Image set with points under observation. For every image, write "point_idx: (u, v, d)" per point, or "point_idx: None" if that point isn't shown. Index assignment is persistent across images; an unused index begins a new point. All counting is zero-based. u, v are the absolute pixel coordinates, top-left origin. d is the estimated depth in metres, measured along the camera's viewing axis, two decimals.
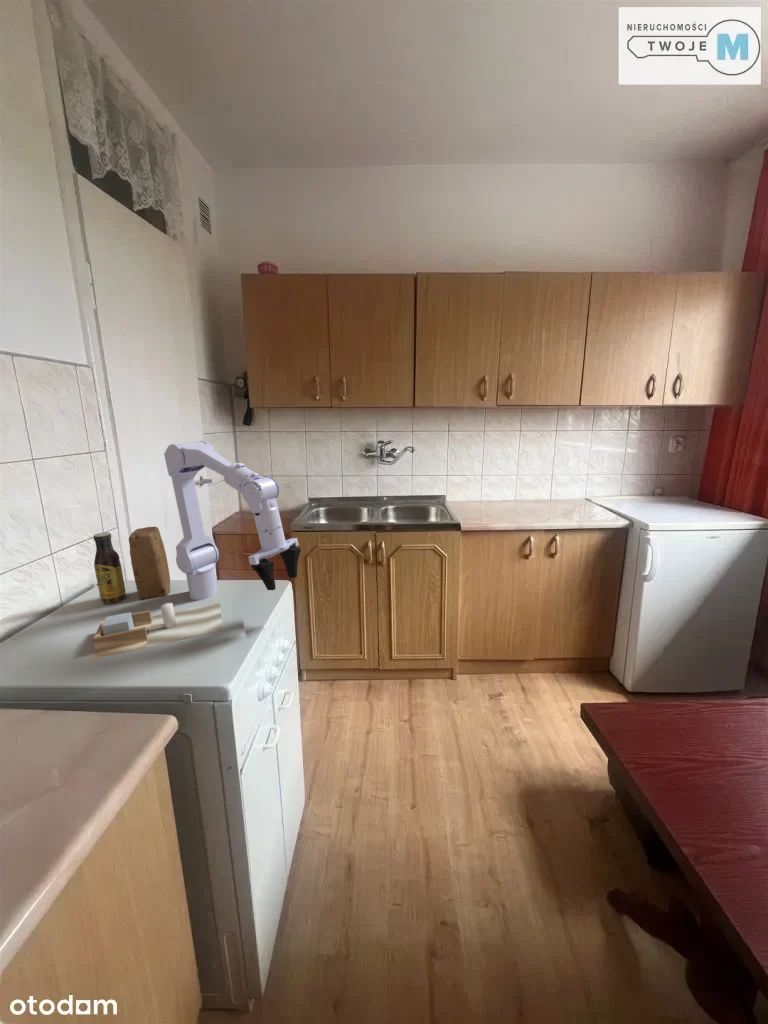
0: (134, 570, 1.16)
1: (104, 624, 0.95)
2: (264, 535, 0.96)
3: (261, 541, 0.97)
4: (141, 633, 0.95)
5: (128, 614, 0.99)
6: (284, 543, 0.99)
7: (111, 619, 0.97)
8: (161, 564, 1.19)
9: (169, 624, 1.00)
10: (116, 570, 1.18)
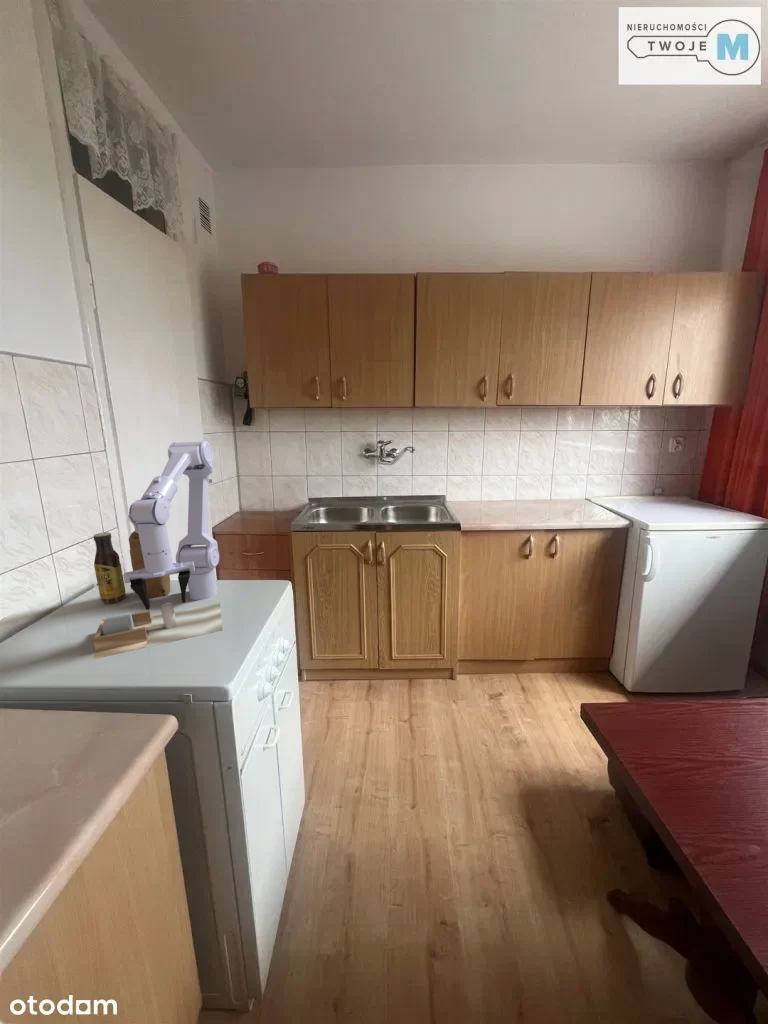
0: (134, 570, 1.16)
1: (104, 624, 0.95)
2: (143, 556, 0.96)
3: None
4: (141, 633, 0.95)
5: (128, 614, 0.99)
6: (162, 569, 0.96)
7: (111, 619, 0.97)
8: None
9: (169, 624, 1.00)
10: (116, 570, 1.18)
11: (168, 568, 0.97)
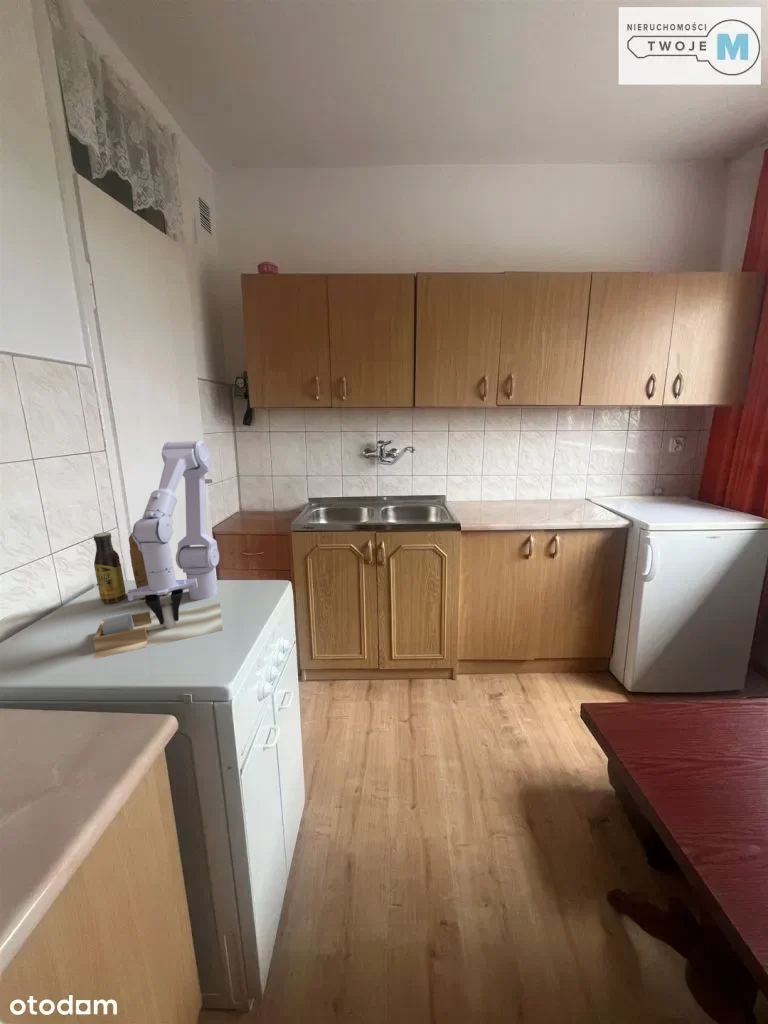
0: (134, 570, 1.16)
1: (104, 624, 0.95)
2: None
3: None
4: (141, 633, 0.95)
5: (128, 614, 0.99)
6: (165, 587, 0.97)
7: (111, 619, 0.97)
8: None
9: (169, 624, 1.00)
10: (116, 570, 1.18)
11: (171, 585, 0.98)
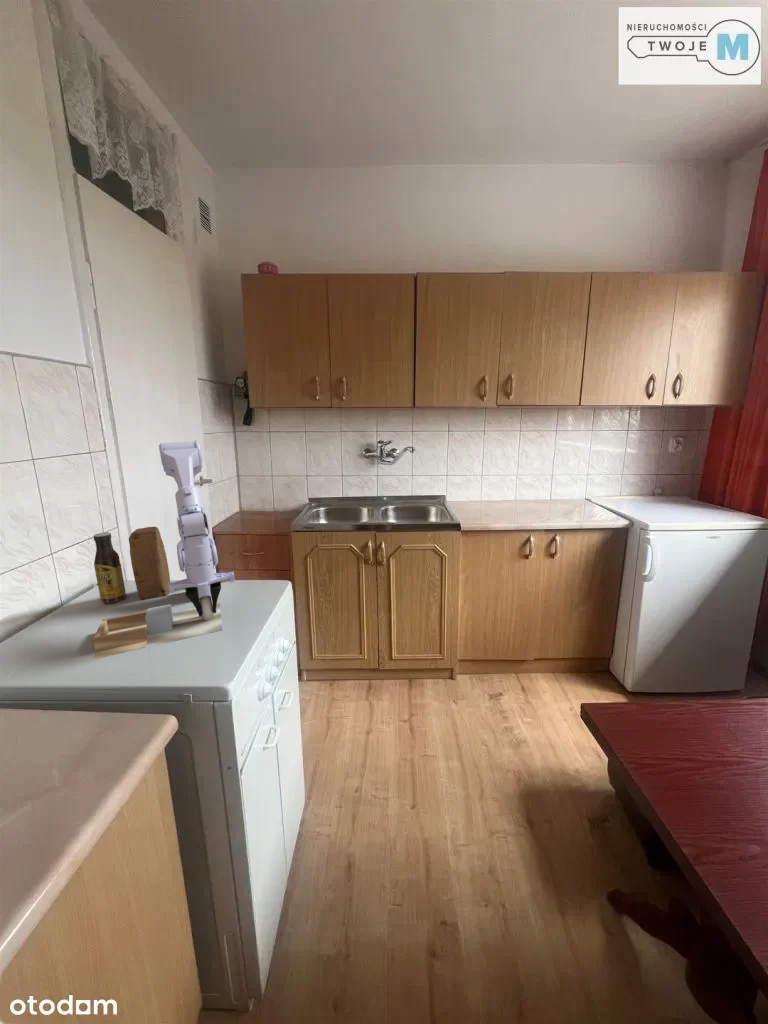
0: (134, 570, 1.16)
1: (147, 615, 0.98)
2: (187, 567, 1.00)
3: None
4: (141, 633, 0.95)
5: (168, 606, 1.02)
6: (205, 580, 1.00)
7: (153, 611, 1.00)
8: (161, 564, 1.19)
9: (207, 616, 1.03)
10: (116, 570, 1.18)
11: (211, 578, 1.01)
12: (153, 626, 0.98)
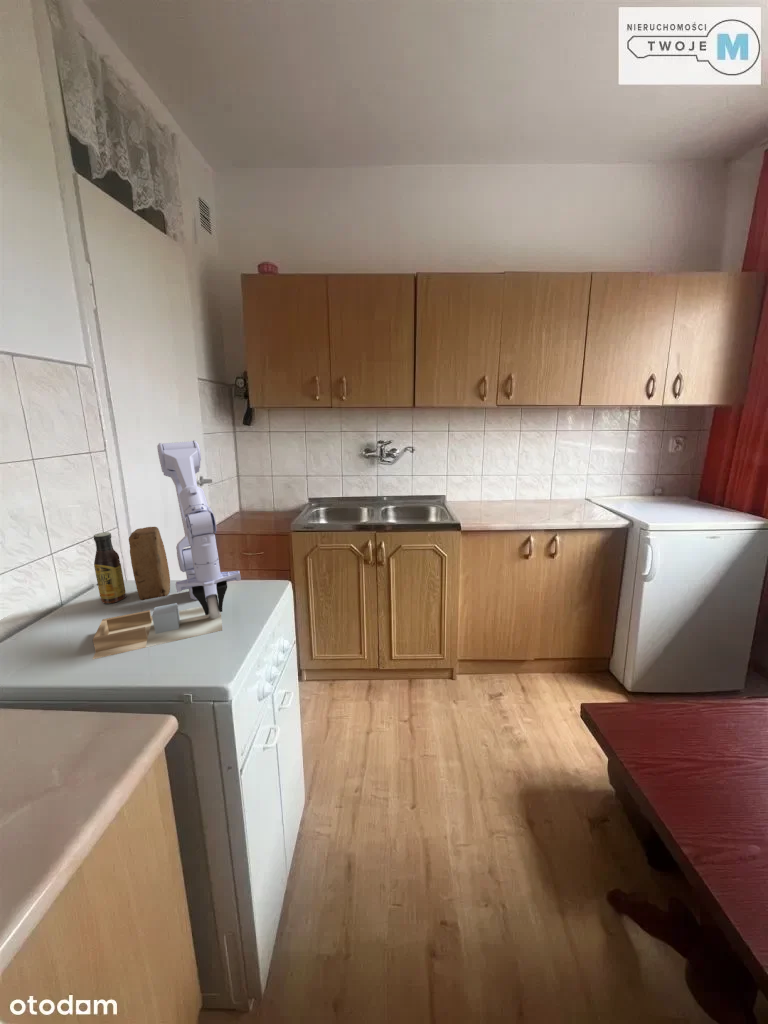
0: (134, 570, 1.16)
1: (154, 614, 0.98)
2: (194, 566, 1.00)
3: None
4: (141, 633, 0.95)
5: (175, 605, 1.03)
6: (212, 578, 1.01)
7: (159, 610, 1.00)
8: (161, 564, 1.19)
9: (213, 615, 1.04)
10: (116, 570, 1.18)
11: (217, 577, 1.02)
12: (160, 625, 0.99)
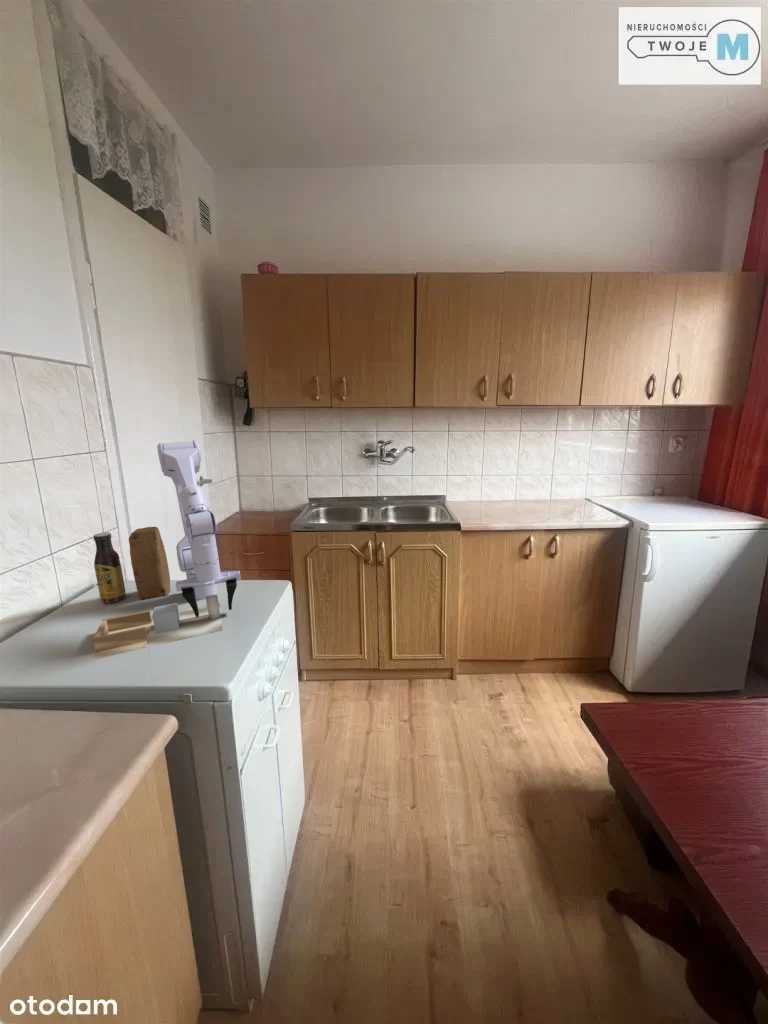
0: (134, 570, 1.16)
1: (154, 614, 0.98)
2: (194, 566, 1.00)
3: None
4: (141, 633, 0.95)
5: (175, 605, 1.03)
6: (212, 578, 1.01)
7: (160, 610, 1.00)
8: (161, 564, 1.19)
9: (213, 615, 1.04)
10: (116, 570, 1.18)
11: (217, 577, 1.02)
12: (160, 625, 0.99)
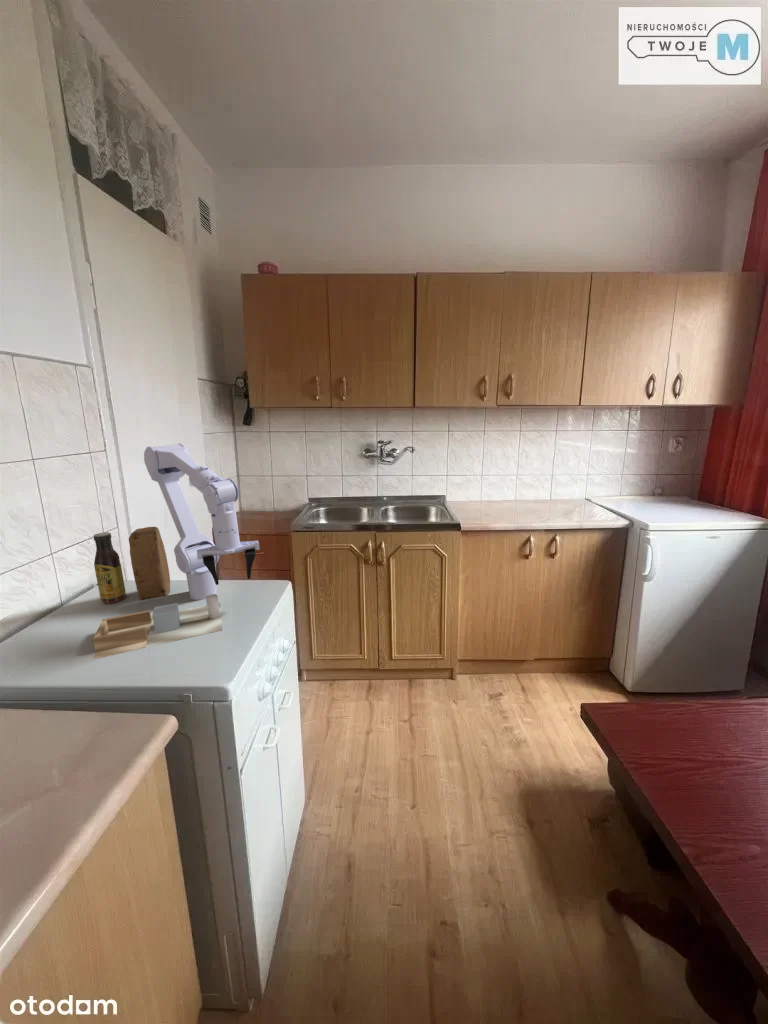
0: (134, 570, 1.16)
1: (154, 614, 0.98)
2: (214, 534, 1.02)
3: None
4: (141, 633, 0.95)
5: (175, 605, 1.03)
6: (232, 546, 1.03)
7: (160, 610, 1.00)
8: (161, 564, 1.19)
9: (213, 615, 1.04)
10: (116, 570, 1.18)
11: (237, 546, 1.04)
12: (160, 625, 0.99)
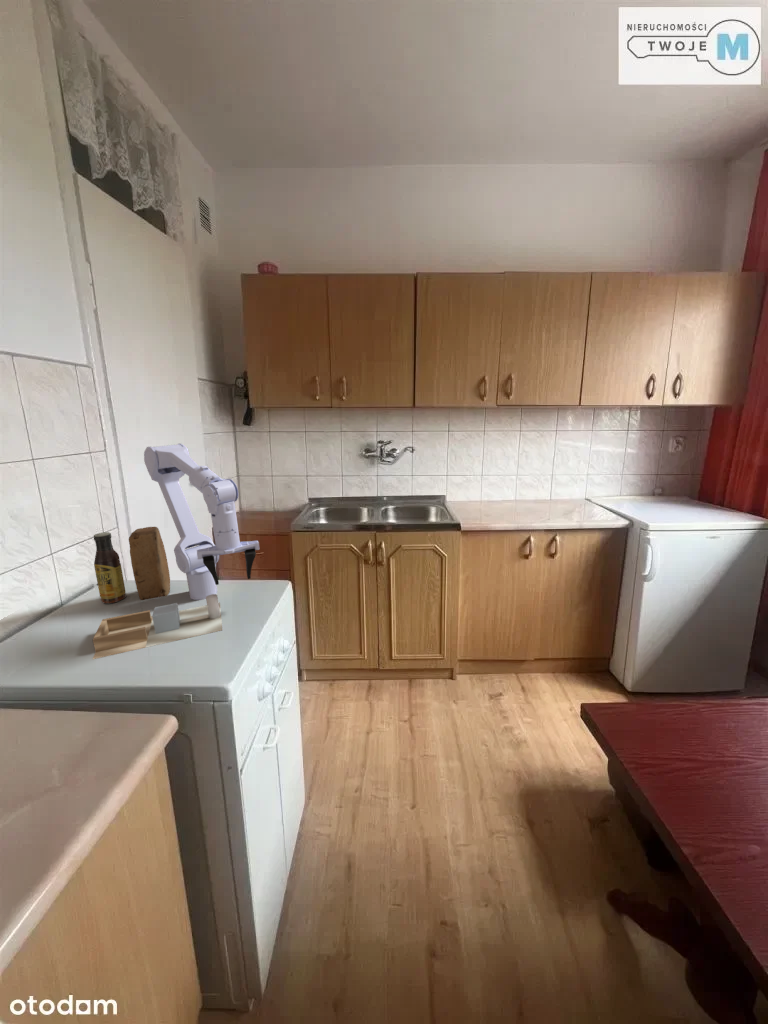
0: (134, 570, 1.16)
1: (154, 614, 0.98)
2: (214, 534, 1.02)
3: None
4: (141, 633, 0.95)
5: (175, 605, 1.03)
6: (232, 546, 1.03)
7: (160, 610, 1.00)
8: (161, 564, 1.19)
9: (213, 615, 1.04)
10: (116, 570, 1.18)
11: (237, 546, 1.04)
12: (160, 625, 0.99)
